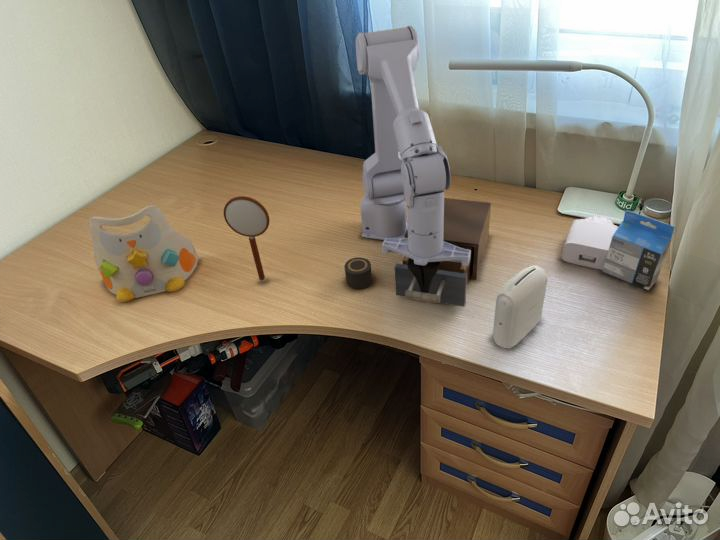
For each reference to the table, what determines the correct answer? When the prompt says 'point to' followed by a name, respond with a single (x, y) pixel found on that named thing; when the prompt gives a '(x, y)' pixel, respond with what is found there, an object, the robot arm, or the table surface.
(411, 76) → the robot arm
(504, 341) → the photo printer
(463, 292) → the drawer
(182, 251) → the shape sorter
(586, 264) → the charger
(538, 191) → the table surface
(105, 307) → the table surface
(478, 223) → the cabinet
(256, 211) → the magnifying glass
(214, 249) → the table surface
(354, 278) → the cylinder
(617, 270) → the label tape box
